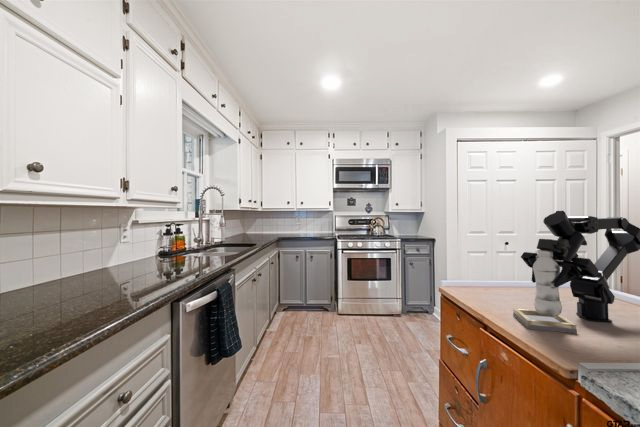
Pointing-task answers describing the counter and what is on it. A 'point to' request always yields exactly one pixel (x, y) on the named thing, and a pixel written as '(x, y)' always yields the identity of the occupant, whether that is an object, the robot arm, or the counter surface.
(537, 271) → the plastic bottle
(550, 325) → the beige flat square frame
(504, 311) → the counter surface
